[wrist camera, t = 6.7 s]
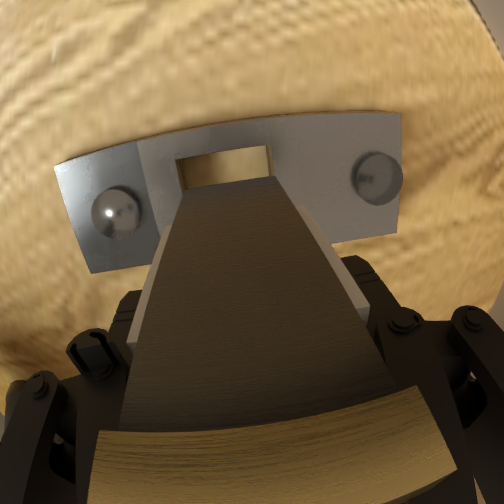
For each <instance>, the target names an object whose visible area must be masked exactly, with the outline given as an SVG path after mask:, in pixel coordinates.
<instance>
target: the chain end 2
mask: <svg viewBox="0 0 504 504" xmlns="http://www.w3.org/2000/svg"><path fill="white" fill-rule="evenodd" d="M262 145H268V147H269V156H270V165H271V174H272V176H275V177H276V178H277V180H278V181H279V183H280V184H281V186H282V187H283V189H284V190H285V192H286V193H287V195H288V197H289V198H290V200H291V201H292V203H293V204H294V206H296V205H304V206H305V208H306V209H307V211H308V212H309V214H310V215H311V216H312V218H313V219H314V221H315V222H316V224H317V225H318V226H319V228H320V229H321V231H322V232H323V234H324V235H325V237H326V238H327V240H328V241H329V243H330V244H332V243H338V242H344V241H350V240H356V239H362V238H368V237H374V236H380V235H387V234H393V233H397V223H398V212H399V198H400V189H401V186H402V181H403V174H402V169H401V114H400V113H394V112H388V111H324V112H306V113H293V114H286V115H284V116H274V117H265V118H256V119H248V120H240V121H233V122H227V123H220V124H214V125H208V126H203V127H197V128H192V129H187V130H182V131H177V132H172V133H167V134H163V135H158V136H154V137H150V138H146V139H142V140H140V141H138V142H137V146H138V151H139V155H140V160H141V164H142V169H143V173H144V177H145V181H146V186H147V190H148V194H149V198H150V202H151V205H152V209H153V213H154V217H155V221H156V224H157V228H158V232H159V235H160V239H161V237H162V234H163V231H164V229H165V226H169V225H172V224H173V221H174V218H175V215H176V212H177V210H178V207H179V204H180V201H181V199H182V196H183V193H184V186H183V181H182V176H181V171H180V166H179V161H178V159H182V158H187V157H192V156H197V155H203V154H208V153H214V152H220V151H227V150H233V149H240V148H247V147H254V146H262Z"/></svg>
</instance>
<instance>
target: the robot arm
mask: <svg viewBox="0 0 504 504" xmlns="http://www.w3.org/2000/svg"><path fill="white" fill-rule="evenodd" d="M295 207H296V209H297V211H298V212H299V214H300V215H301V217H302V219H303V220H304V222H305V223H306V225H307V227H308V228H309V230H310V231H311V233H312V235H313V236H314V238H315V240H316V241H317V243H318V244H319V246H320V248H321V249H322V251H323V253H324V254H325V256H326V258H327V259H328V261H329V263H330V265H331V266H332V268H333V270H334V271H335V273H336V275H337V276H338V278H339V280H340V282H341V283H342V285H343V287H344V289H345V290H346V292H347V294H348V296H349V297H350V299H351V301H352V303H353V305H354V306H355V308H356V310H357V312H358V314H359V315H360V317H361V319H362V321H363V323H364V325H365V326H366V328H367V330H368V332H369V334H370V336H371V338H372V339H373V341H374V343H375V345H376V347H377V349H378V351H379V353H380V355H381V357H382V359H383V360H384V362H385V364H386V366H387V368H388V370H389V372H390V374H391V376H392V378H393V380H394V382H395V384H396V386H397V388H398V390H399V391H402V390H405V389H408V388H411V387H413V386H416V385H417V387H418V389H419V391H420V392H421V394H422V396H423V398H424V400H425V402H426V404H427V406H428V408H429V410H430V412H431V414H432V416H433V418H434V420H435V422H436V424H437V426H438V428H439V430H440V432H441V434H442V436H443V438H444V440H445V443H446V445H447V447H448V449H449V451H450V453H451V456H452V458H453V460H454V462H455V465H456V467H457V470H456V471H455V472H453V473H452V474H451V475H449V476H448V477H447V478H445V479H444V480H442V481H441V482H440V483H438V484H437V485H435V486H434V487H433V488H431V489H430V490H428V491H426V492H424V493H422V494H420V495H418V496H416V497H413V498H411V499H409V500H407V501H405V502H404V503H402V504H478V502H477V496H476V488H475V482H474V478H475V479H476V482H477V484H478V486H479V489H480V491H481V493H482V495H483V498H484V500H485V502H486V504H504V332H503V330H502V329H501V328H500V327H499V326H498V325H497V324H496V323H495V321H494V320H493V319H492V318H491V317H490V316H489V315H488V314H487V313H486V312H485V311H483V310H482V309H480V308H478V307H475V306H469V305H466V306H461V307H459V308H457V309H456V310H455V311H454V313H453V315H452V318H451V320H450V321H425V320H424V319H423V317H422V316H421V315H420V314H419V313H417V312H416V311H414V310H412V309H409V308H406V307H401V306H400V305H399V303H398V302H397V300H396V299H395V298H394V296H393V295H392V293H391V292H390V291H389V289H388V288H387V287H386V285H385V284H384V283H383V281H382V280H380V277H379V276H378V275H377V273H375V271H374V269H373V268H372V267H371V265H370V264H369V263H368V262H367V261H365V260H364V259H362V258H360V257H359V256H357V255H354V256H349V257H343V258H339V256H338V255H337V253H336V252H335V250H334V249H333V247H332V246H331V244H330V243H329V241H328V240H327V238H326V237H325V235H324V234H323V232H322V231H321V229H320V228H319V226H318V225H317V224H316V222H315V221H314V219H313V218H312V216H311V215H310V214H309V212H308V211H307V209H306V208H305V206H304V205H296V206H295ZM171 227H172V225H169V226H165V229H164V231H163V234H162V237H161V239H160V242H159V245H158V247H157V250H156V253H155V256H154V258H153V261H152V264H151V267H150V270H149V272H148V275H147V278H146V281H145V284H144V287H143V290H136V291H129V292H128V293H127V294H126V295H125V296H124V298H123V299H122V300H121V301H120V303H119V306H118V308H117V311H116V314H115V316H114V319H113V323H112V324H111V327H110V329H109V332H107V331H106V330H104V329H100V328H95V329H89V330H86V331H84V332H81V333H80V334H79V335H77V336H76V337H74V338H73V340H72V341H71V342H70V343H69V344H68V347H67V349H66V351H65V352H66V353H67V355H68V356H69V358H70V359H71V361H72V362H73V363H74V365H75V366H76V367H77V369H78V370H79V372H80V373H81V374H80V375H78V376H75V377H71V378H68V379H64V380H61V381H59V379H58V378H57V377H56V376H55V375H54V374H53V372H50V371H40V372H38V373H36V374H34V375H33V376H32V377H31V378H29V379H28V381H27V382H24V381H15V382H13V383H11V385H10V387H9V389H8V391H7V394H6V408H5V426H4V432H3V436H2V439H1V441H0V504H87V500H88V492H89V485H90V478H91V472H92V466H93V460H94V455H95V449H96V444H97V439H98V434H99V430H105V431H118V427H119V421H120V416H121V411H122V405H123V400H124V396H125V391H126V386H127V382H128V377H129V373H130V368H131V364H132V360H133V356H134V352H135V348H136V344H137V340H138V336H139V332H140V328H141V324H142V321H143V317H144V313H145V310H146V306H147V303H148V299H149V296H150V292H151V289H152V286H153V282H154V279H155V276H156V272H157V269H158V266H159V263H160V260H161V257H162V253H163V250H164V247H165V244H166V241H167V238H168V235H169V232H170V230H171ZM471 372H472V373H473V374H474V376H475V377H476V379H475V378H473V377H472V376H471V375H470V373H471ZM473 475H474V477H473Z"/></svg>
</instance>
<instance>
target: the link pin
mask: <svg viewBox="0 0 504 504" xmlns="http://www.w3.org/2000/svg"><path fill="white" fill-rule="evenodd" d="M456 470H457V467H456V465H455V462H454V460H453V458H452V456H451V453H450V451H449V449H448V447H447V445H446V443H445V440H444V438H443V436H442V434H441V432H440V430H439V428H438V426H437V424H436V422H435V420H434V418H433V416H432V414H431V412H430V410H429V408H428V406H427V404H426V402H425V400H424V398H423V396H422V394H421V392H420V391H419V389H418V387H417V385H416V386H413V387H411V388H408V389H405V390H402V391H399V390H398V388H397V386H396V384H395V382H394V380H393V378H392V376H391V374H390V372H389V370H388V368H387V366H386V364H385V362H384V360H383V359H382V357H381V355H380V353H379V351H378V349H377V347H376V345H375V343H374V341H373V339H372V338H371V336H370V334H369V332H368V330H367V328H366V326H365V325H364V323H363V321H362V319H361V317H360V315H359V314H358V312H357V310H356V308H355V306H354V305H353V303H352V301H351V299H350V297H349V296H348V294H347V292H346V290H345V289H344V287H343V285H342V283H341V282H340V280H339V278H338V276H337V275H336V273H335V271H334V270H333V268H332V266H331V265H330V263H329V261H328V259H327V258H326V256H325V254H324V253H323V251H322V249H321V248H320V246H319V244H318V243H317V241H316V240H315V238H314V236H313V235H312V233H311V231H310V230H309V228H308V227H307V225H306V223H305V222H304V220H303V219H302V217H301V215H300V214H299V212H298V211H297V209H296V207H295V206H294V204H293V203H292V201H291V200H290V198H289V197H288V195H287V193H286V192H285V190H284V189H283V187H282V186H281V184H280V183H279V181H278V180H277V178H276V177H275V176H270V177H262V178H255V179H248V180H241V181H235V182H228V183H222V184H216V185H210V186H204V187H199V188H193V189H187V190H185V191H184V193H183V196H182V199H181V201H180V204H179V207H178V210H177V212H176V215H175V218H174V221H173V224H172V227H171V230H170V232H169V235H168V238H167V241H166V244H165V247H164V250H163V253H162V257H161V260H160V263H159V266H158V269H157V272H156V276H155V279H154V282H153V286H152V289H151V292H150V296H149V299H148V303H147V306H146V310H145V313H144V317H143V321H142V324H141V328H140V332H139V336H138V340H137V344H136V348H135V352H134V356H133V360H132V364H131V368H130V373H129V377H128V382H127V386H126V391H125V396H124V400H123V405H122V411H121V416H120V421H119V427H118V431H105V430H99V434H98V439H97V444H96V449H95V455H94V460H93V466H92V472H91V478H90V485H89V492H88V500H87V504H402V503H404V502H405V501H407V500H409V499H411V498H413V497H416V496H418V495H420V494H422V493H424V492H426V491H428V490H430V489H431V488H433V487H434V486H435V485H437V484H438V483H440V482H441V481H442V480H444V479H445V478H447V477H448V476H449V475H451V474H452V473H453V472H455V471H456Z"/></svg>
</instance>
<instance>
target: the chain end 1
mask: <svg viewBox="0 0 504 504" xmlns="http://www.w3.org/2000/svg"><path fill="white" fill-rule="evenodd" d="M274 116H282V115H271V116H262V117H253V118H246V119H238V120H231V121H225V122H218V123H212V124H206V125H201V126H195V127H190V128H185V129H180V130H175V131H170V132H166V133H161V134H157V135H153V136H149V137H144V138H140V139H136V140H133V141H129V142H125V143H121V144H118V145H114V146H111V147H107V148H104V149H100V150H97V151H94V152H91V153H88V154H84V155H81V156H78V157H75V158H72V159H69V160H67V161H64V162H61V163H59V164H57V165H55V166H54V169H55V172H56V176H57V179H58V183H59V186H60V190H61V193H62V196H63V200H64V203H65V206H66V209H67V212H68V215H69V218H70V221H71V224H72V226H73V229H74V232H75V235H76V237H77V240H78V243H79V245H80V248H81V250H82V253H83V256H84V258H85V260H86V263H87V265H88V268H89V270H90V272H91V274H93V273H99V272H106V271H112V270H118V269H124V268H130V267H136V266H142V265H148V264H152V261H153V258H154V256H155V253H156V250H157V247H158V245H159V242H160V235H159V232H158V228H157V224H156V221H155V217H154V213H153V209H152V205H151V202H150V198H149V194H148V190H147V186H146V181H145V177H144V173H143V169H142V164H141V160H140V155H139V151H138V146H137V142H138V141H140V140H142V139H146V138H150V137H154V136H158V135H163V134H167V133H172V132H177V131H182V130H187V129H192V128H197V127H203V126H208V125H214V124H220V123H227V122H233V121H240V120H248V119H256V118H265V117H274ZM266 150H267V159H268V168H269V177H270V176H272V174H271V165H270V156H269V147H268V145H266ZM178 161H179V166H180V171H181V176H182V181H183V186H184V191H185V190H187V186H186V182H185V177H184V172H183V167H182V162H181V159H178Z"/></svg>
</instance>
